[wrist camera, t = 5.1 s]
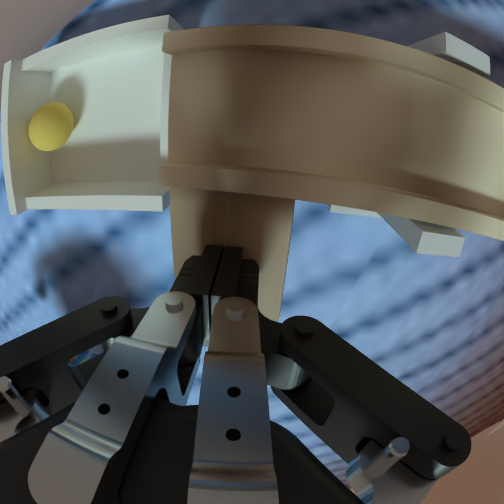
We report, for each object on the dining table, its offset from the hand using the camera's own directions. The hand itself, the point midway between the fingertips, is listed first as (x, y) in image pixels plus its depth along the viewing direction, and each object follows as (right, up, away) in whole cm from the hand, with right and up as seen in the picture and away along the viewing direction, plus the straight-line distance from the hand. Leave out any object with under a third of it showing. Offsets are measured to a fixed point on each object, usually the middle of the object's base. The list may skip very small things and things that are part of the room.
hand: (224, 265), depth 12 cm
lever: (+9, +2, -2) cm, 9 cm away
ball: (-13, +9, +1) cm, 15 cm away
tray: (-8, +9, +3) cm, 13 cm away
